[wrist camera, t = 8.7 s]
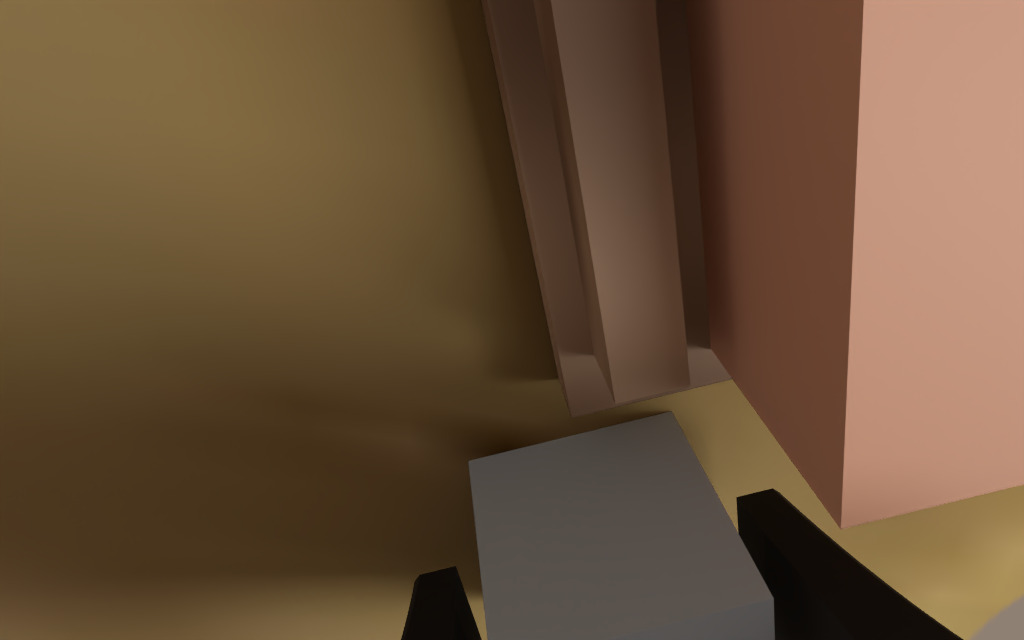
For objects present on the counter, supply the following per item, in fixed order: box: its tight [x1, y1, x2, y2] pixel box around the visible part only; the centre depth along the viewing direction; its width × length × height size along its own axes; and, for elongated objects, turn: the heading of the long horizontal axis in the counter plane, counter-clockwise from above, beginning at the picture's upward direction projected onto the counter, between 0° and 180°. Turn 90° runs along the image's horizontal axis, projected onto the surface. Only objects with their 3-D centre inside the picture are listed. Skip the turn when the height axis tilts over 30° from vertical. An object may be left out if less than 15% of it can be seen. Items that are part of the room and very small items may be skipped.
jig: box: [481, 0, 732, 418], centre depth 8 cm, size 10×8×2 cm
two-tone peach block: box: [686, 0, 1024, 529], centre depth 7 cm, size 8×4×4 cm, turn 11°
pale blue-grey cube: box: [468, 411, 775, 640], centre depth 11 cm, size 4×4×4 cm
